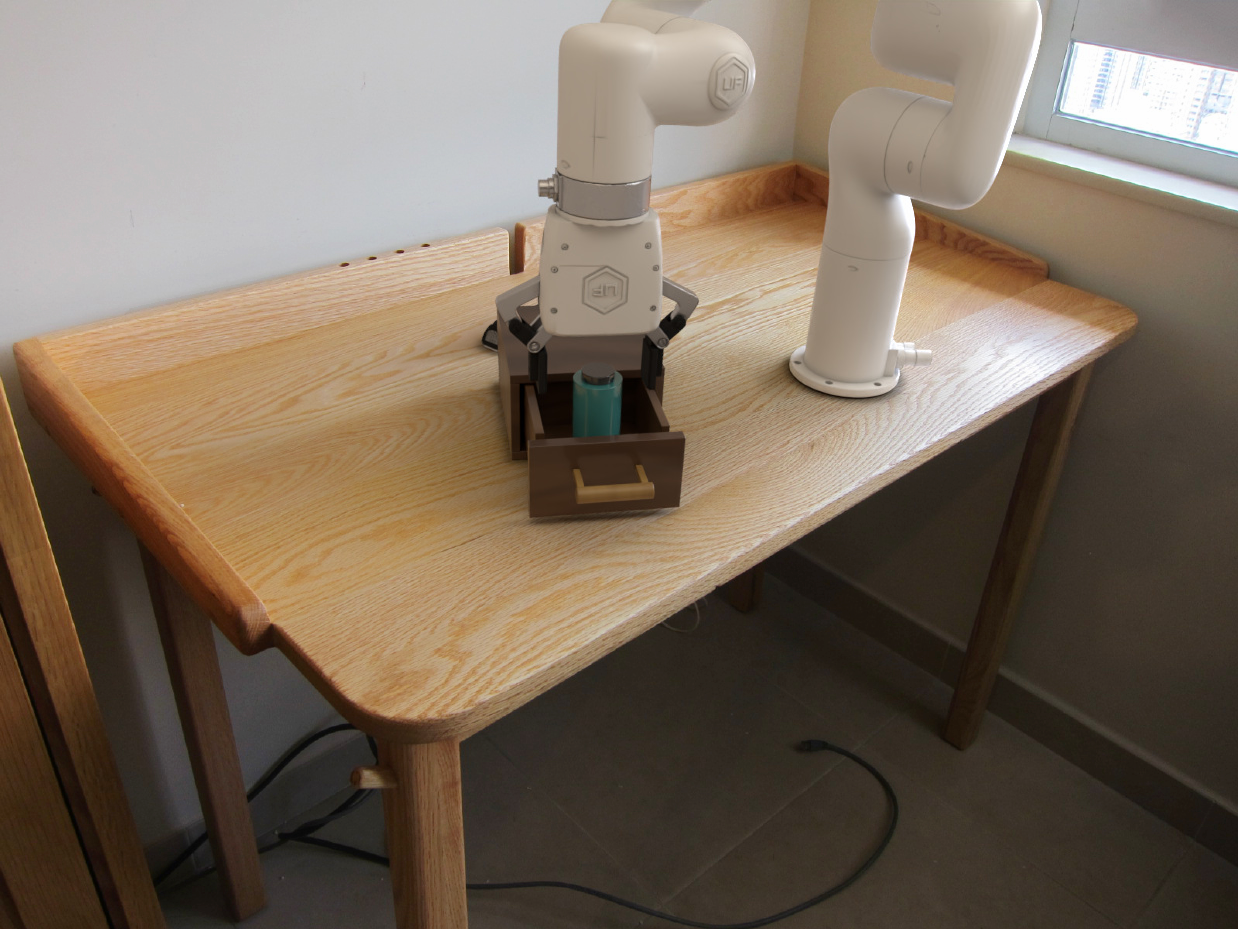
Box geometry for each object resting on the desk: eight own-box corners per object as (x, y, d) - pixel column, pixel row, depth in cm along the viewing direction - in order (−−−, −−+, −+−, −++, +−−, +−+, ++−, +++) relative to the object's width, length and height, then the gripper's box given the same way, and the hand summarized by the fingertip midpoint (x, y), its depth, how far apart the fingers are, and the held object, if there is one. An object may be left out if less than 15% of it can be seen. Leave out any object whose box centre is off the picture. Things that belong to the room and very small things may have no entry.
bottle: (618, 453, 94) (622, 359, 89) (618, 478, 90) (623, 382, 85) (572, 451, 94) (574, 357, 88) (570, 477, 90) (572, 380, 85)
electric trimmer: (586, 316, 126) (586, 292, 124) (502, 354, 115) (501, 329, 114) (563, 308, 128) (564, 285, 126) (479, 344, 117) (478, 320, 115)
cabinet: (659, 450, 99) (665, 368, 94) (511, 460, 96) (509, 375, 91) (629, 377, 112) (633, 301, 107) (498, 384, 109) (496, 306, 104)
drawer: (691, 535, 85) (698, 464, 81) (535, 548, 83) (534, 475, 79) (646, 425, 101) (651, 361, 97) (514, 433, 98) (513, 367, 94)
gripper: (497, 209, 73) (500, 409, 83) (720, 208, 77) (699, 401, 86) (490, 180, 80) (493, 369, 89) (696, 180, 83) (679, 363, 92)
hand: (594, 384), depth 87 cm, fingers open, 9 cm apart
